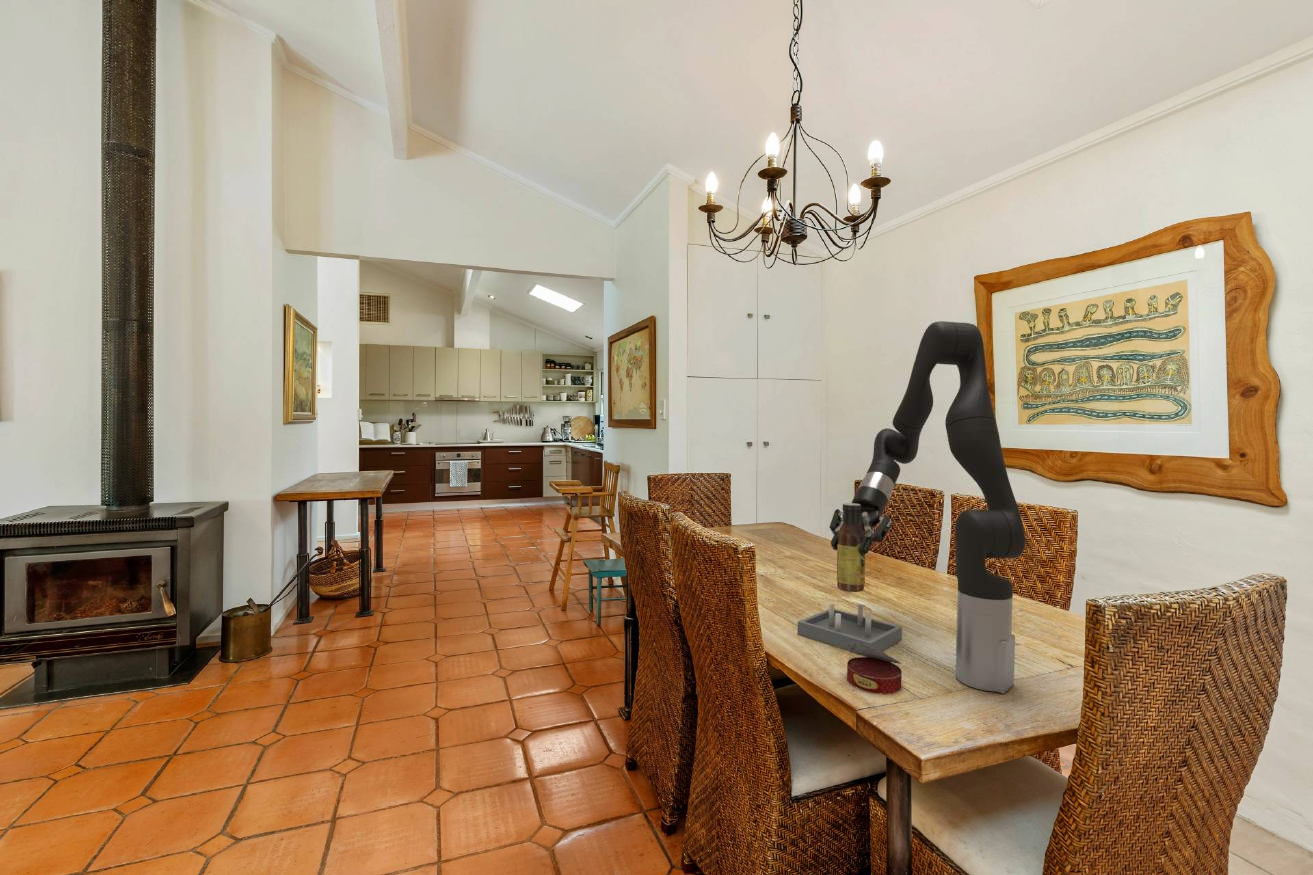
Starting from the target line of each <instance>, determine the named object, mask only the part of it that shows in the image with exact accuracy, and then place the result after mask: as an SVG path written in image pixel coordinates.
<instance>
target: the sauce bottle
mask: <svg viewBox="0 0 1313 875" xmlns="http://www.w3.org/2000/svg"><path fill="white" fill-rule="evenodd" d="M860 511H861V505H860V504H855V503H852V502H849V503H848V502H846V503H842V512H843V525H842V526H841V528H840V529H839V531H838V544H837V550H836V582H837V583H836V585H837V589H838V590H840V591H843V592H848V593H858V592H863V591H864V589H865V582H866V554H865V555H864V556H863V555H860V553H859V547H860V545H861V543H862V540H863V538H864V537H866V535H865V533H864V531H863V530H862V527H861V524H860Z"/></svg>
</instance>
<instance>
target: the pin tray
mask: <svg viewBox="0 0 1313 875" xmlns="http://www.w3.org/2000/svg"><path fill="white" fill-rule="evenodd" d="M799 634H800V635H799ZM797 635H799V636H803V637H806V638H807V639H808V638H809V639H811V640H814V641H818V642H821V643H824V644H827V645H830V646H834V647H837V648H839V649H843V650H846V651H848V650H847V646H848V644H850V643H852V642H855V643H862V644H866V645H869V646H871V647H873V648H875V649H877V650H879V651H881V652H883V651H885V650H887V649H888V648H890V647H892V646H894V645H895V644H897V643H899V642H901V641H903V627H902V626H900V625H895V624H893V623H888V622H885V621H881V620H877V619H875V618H874V619H873V618H872V614H871V613H865V616H864V604H862V603H858V604H857V614H855V613H851V612H846V611H844V610H841V609H840V610H839V609H836V608H835V604H834V603H829V604H828V609H826V610H822V611H821V612H818V613H816V614H812V615H810V616H809V617H805V618H803V619H800V620H798V621H797Z"/></svg>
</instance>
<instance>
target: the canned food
mask: <svg viewBox="0 0 1313 875" xmlns="http://www.w3.org/2000/svg"><path fill="white" fill-rule="evenodd" d="M846 651H848V652H850V653H852V654H855V655H859V656H858V657H854V658H850V659H849V660H848V661H847V664H846V665H847V667H846V669H847V670H846V681H847V682H848V683H849V685H851V684H852V685H851V686H853V687H854V686H855V687H854V688H856V687H857V688H856V689H858V688H859V689H858V690H860V689H861V690H860V691H863V692H868V693H871V694H878V693H879V694H880V693H882V694H880V695H890V694H889V693H891V694H896V693H898V692H899V691H900V690H901V689H902V675H903V670H902V669H901V667H900V666H899V665H897V664H902V662H900V661H899V660H897V659H896V658H894V657H893V656H890V655H888V654H886V653H885V652H883V651H879V650H877V649H875V648H873V647H871V646H869V645H866V644H862V643H855V642H852V643H850V644H848V646H847V650H846ZM897 691H898V692H897ZM879 694H878V695H879Z"/></svg>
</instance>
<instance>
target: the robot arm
mask: <svg viewBox="0 0 1313 875" xmlns="http://www.w3.org/2000/svg"><path fill="white" fill-rule="evenodd" d="M913 362H914V363H913V366H912V369H911V373H910V376H909V380H908V383H907V386H906V387H907V388H906V390H905V393H904V395H903V398H902V400H901V402H900V405H899V406H898V408H897V410H896V412H895V414H894V416H893V418H892V427H893V428H894V429H895V430H894V429H893V428H887V427H886V428H883V429H881V430H880V431H878V433H877V434H876V435H875V438H874V442H873V443H874V444H873V454H872V460H871V463H870V466H869V468H868V470H867V472H866V474H865V476H864V477H863V478H862V480H861V482H860V484H859V486H858V488H857V490H856V492H855V494H854V495H853V496H854V497H853V498H852V500H851V503H855V504H860V505H861V511H860V524H861V527H862V530H863V532H865V533H864V534H865V537H864V538H863V540H862V543H861V545H860V547H859V553H860V555H863V556H864V555H865V556H866V554H867V555H868V553H869V552H870V549H871V547H872V544H874V543H875V542H877V543H882V542H883V541H884V540H885V538H886V536H887V534H888V533H889V531H890V530H891V528H892V526H893V522H892V519H891V518H890V516H888V515H886V516H883V515H884V512H885V511H886V508H887V506H888V503H889V501H890V499H891V498H892V494H893V491H894V487H895V485H896V483H897V480H898V478H899V477H900V473H901V467H900V465H899V464H902V465H903V464H904V465H907V464H910V463H912V462H913V461H914V460H915V459H916V457H917V455H918V450H919V444H920V437H921V432H922V430H923V428H924V426H925V425H926V422H927V421H928V418H929V417H930V414H932V410H933V407H934V394H933V391H932V387H931V374H932V372H933V370H934V369H935V367H936V366H937V365H948V366H949V365H950V366H952V365H953V366H956V367H957V370H958V374H959V388H958V391H957V393H956V395H955V397H954V399H953V401H952V403H951V405H950V406H949V408H948V410H947V412H946V416H945V420H944V421H945V422H944V423H945V430H946V436H947V442H948V446H949V450H950V452H951V454H952V456H953V457H954V459H955V460H956V461H957V462H958V464H959V465H960V466H961V468H963V470H964V471H965V472H966V473H967V474H968V475H969V476H970V477H971V478H972V480H973V481H974V482H975V483H976V484H977V486H978V488H979V489H980V490H981V492H982V495H983V496H984V499H985V503H986V505H987V509H965V510H962V511H961V512H959V515H958V516H957V518H956V520H955V524H954V525H955V526H954V545H955V547H954V548H955V573H956V580H957V602H956V606H957V608H956V610H957V611H956V642H955V643H956V644H955V645H956V646H955V677H956V679H957V680H958V681H959V682H961V683H962V684H963V685H966V686H968V687H971V688H974V689H978V690H981V691H985V692H986V691H987V692H997V693H1000V694H1005V693H1006V692H1007V691H1008V690H1009V689H1011V687H1013V686H1014V684H1015V661H1016V660H1015V657H1016V655H1015V654H1016V653H1015V652H1016V650H1015V649H1016V635H1014V634H1013V633H1012V629H1013V602H1014V601H1013V595H1014V588H1013V587H1014V585H1013V583H1012V581H1011V580H1009V579H1007V578H1006V577H1003V576H1001V575H999V574H995V573H993V572H990V571H989V570H988V569H987V564H986V559H1000V560H1001V559H1005V560H1006V559H1017V558H1019V557H1020V556H1021V555H1022V554H1023V552H1024V550H1025V546H1026V534H1025V533H1026V531H1025V526H1024V521H1023V519H1022V515H1021V513H1020V509H1019V506H1018V503H1017V500H1016V498H1015V494H1014V491H1013V489H1012V486H1011V483H1010V482H1011V481H1010V479H1009V475H1008V471H1007V468H1006V467H1007V466H1006V463H1005V458H1004V455H1003V450H1002V444H1001V438H1000V433H999V428H998V424H997V420H996V415H995V411H994V409H993V404H992V399H991V393H990V389H989V382H988V376H987V366H986V357H985V348H984V340H983V336H982V333H981V330H980V329H979V327H978V326H977V325H976V324H973V323H969V322H955V321H941V320H939V321H934V322H932V323H930V324H929V325H928V326H927V328H926V329H925V331H924V333H923V335H922V336H921V339H920V342H919V346H918V349H917V353H916V356H915V360H914V361H913ZM878 524H879V525H878ZM842 525H843V511H841V510H840V509H839V508H837V509H835V510H834V512H833V515H832V518H831V521H830V524H829V529H830V531H831V533H832V534H833V537H832V539H831V541H830V545H831V548H832V549H833V551H837V544H838V531H839V529H840V528H841V526H842ZM876 525H878V526H877V528H876V530H875V531H874V527H875V526H876Z"/></svg>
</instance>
